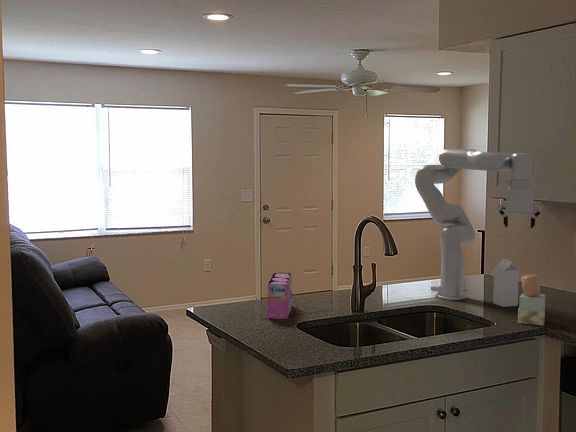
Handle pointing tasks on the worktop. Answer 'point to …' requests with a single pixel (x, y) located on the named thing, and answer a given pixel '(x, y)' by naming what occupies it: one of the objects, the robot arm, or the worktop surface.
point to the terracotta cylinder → (530, 285)
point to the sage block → (532, 303)
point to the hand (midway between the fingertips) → (518, 227)
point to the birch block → (531, 317)
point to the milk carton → (505, 284)
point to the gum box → (279, 296)
